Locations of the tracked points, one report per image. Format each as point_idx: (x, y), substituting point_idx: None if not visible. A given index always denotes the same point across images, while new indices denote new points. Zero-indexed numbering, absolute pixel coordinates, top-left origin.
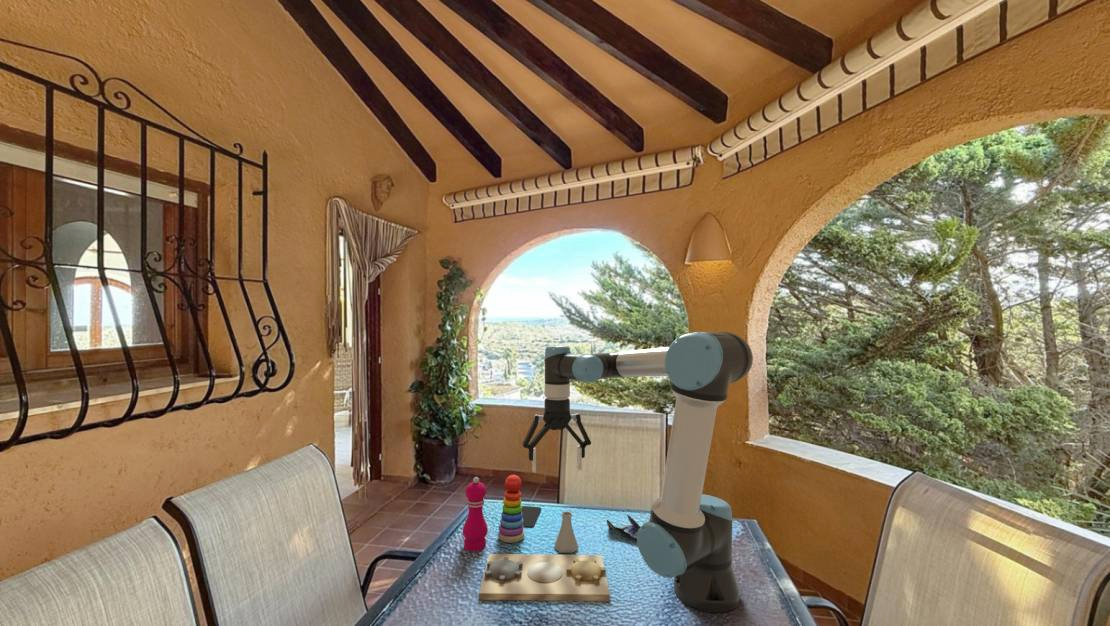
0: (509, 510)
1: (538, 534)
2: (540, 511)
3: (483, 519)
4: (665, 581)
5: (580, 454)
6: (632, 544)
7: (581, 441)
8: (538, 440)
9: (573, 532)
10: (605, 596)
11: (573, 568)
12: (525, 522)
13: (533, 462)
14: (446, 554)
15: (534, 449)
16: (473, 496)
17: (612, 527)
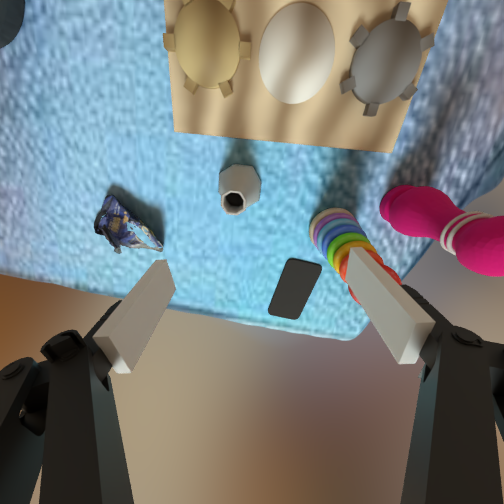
0: (361, 235)
1: (282, 236)
2: (270, 304)
3: (419, 213)
4: (47, 29)
5: (124, 306)
6: (121, 190)
7: (58, 384)
8: (453, 400)
9: (223, 189)
10: None
11: (235, 46)
12: (299, 272)
13: (385, 271)
14: (456, 177)
15: (419, 333)
16: None
17: (151, 230)
